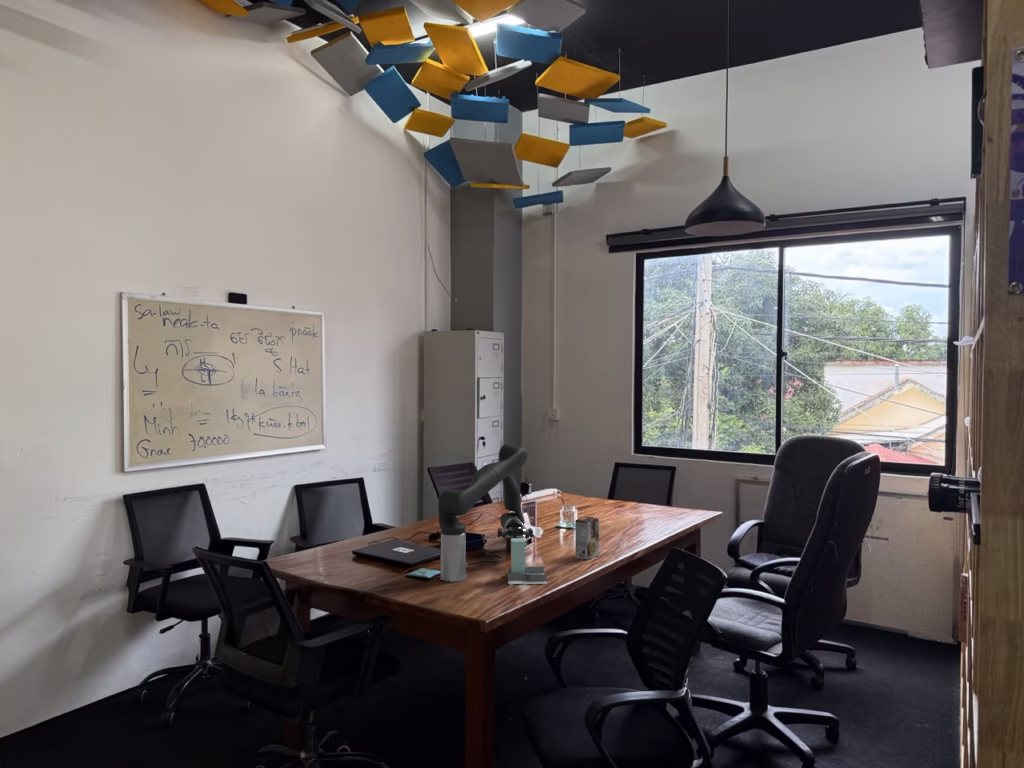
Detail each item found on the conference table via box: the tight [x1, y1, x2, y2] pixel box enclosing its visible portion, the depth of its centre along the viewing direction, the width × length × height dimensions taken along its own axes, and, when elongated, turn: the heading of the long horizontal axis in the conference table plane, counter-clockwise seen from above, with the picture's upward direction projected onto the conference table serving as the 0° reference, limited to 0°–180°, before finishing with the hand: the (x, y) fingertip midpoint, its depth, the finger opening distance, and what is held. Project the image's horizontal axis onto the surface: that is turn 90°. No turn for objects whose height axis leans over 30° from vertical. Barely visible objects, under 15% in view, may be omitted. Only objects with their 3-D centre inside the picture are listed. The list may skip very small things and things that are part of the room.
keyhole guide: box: [506, 565, 548, 586], centre depth 249 cm, size 14×15×3 cm
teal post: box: [510, 537, 526, 573], centre depth 248 cm, size 5×5×14 cm
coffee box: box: [574, 516, 600, 561], centre depth 279 cm, size 9×6×16 cm
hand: (515, 536), depth 259 cm, fingers open, 8 cm apart
